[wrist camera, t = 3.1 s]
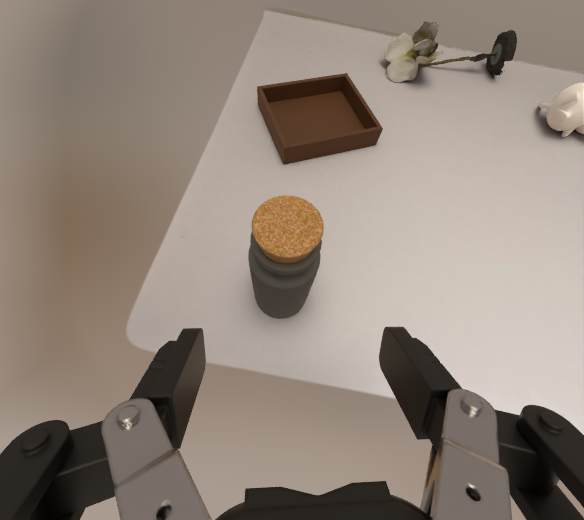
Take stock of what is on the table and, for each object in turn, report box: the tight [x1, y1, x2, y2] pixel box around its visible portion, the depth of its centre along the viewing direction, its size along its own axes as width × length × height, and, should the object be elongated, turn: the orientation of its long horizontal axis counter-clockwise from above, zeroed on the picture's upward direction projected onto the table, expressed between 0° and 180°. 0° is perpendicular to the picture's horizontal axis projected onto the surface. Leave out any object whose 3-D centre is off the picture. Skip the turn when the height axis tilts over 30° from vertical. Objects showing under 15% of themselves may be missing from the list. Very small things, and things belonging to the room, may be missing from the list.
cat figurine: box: [539, 83, 584, 137], centre depth 45 cm, size 9×11×12 cm
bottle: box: [249, 196, 324, 319], centre depth 24 cm, size 6×6×15 cm
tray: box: [257, 73, 383, 164], centre depth 42 cm, size 15×13×3 cm
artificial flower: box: [384, 22, 517, 83], centre depth 48 cm, size 9×22×10 cm, turn 92°
